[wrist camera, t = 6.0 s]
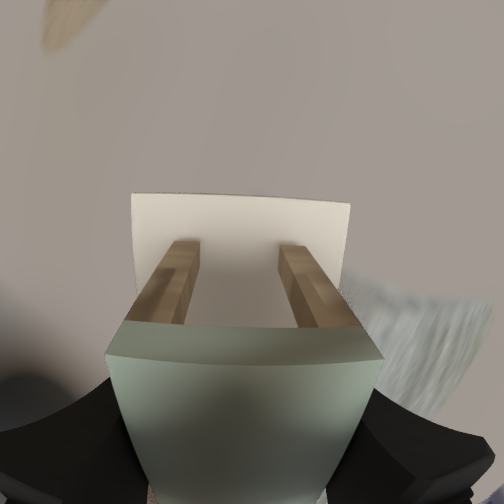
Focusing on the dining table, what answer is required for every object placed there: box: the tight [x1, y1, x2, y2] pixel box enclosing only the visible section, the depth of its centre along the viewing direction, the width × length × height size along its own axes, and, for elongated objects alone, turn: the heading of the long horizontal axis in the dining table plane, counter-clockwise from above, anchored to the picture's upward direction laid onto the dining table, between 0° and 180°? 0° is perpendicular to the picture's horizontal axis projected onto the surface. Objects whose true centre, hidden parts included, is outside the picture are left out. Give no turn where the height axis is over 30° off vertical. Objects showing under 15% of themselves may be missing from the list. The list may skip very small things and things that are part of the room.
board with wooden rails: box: [104, 241, 384, 504], centre depth 9 cm, size 5×7×7 cm
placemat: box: [131, 192, 351, 328], centre depth 14 cm, size 11×9×1 cm
